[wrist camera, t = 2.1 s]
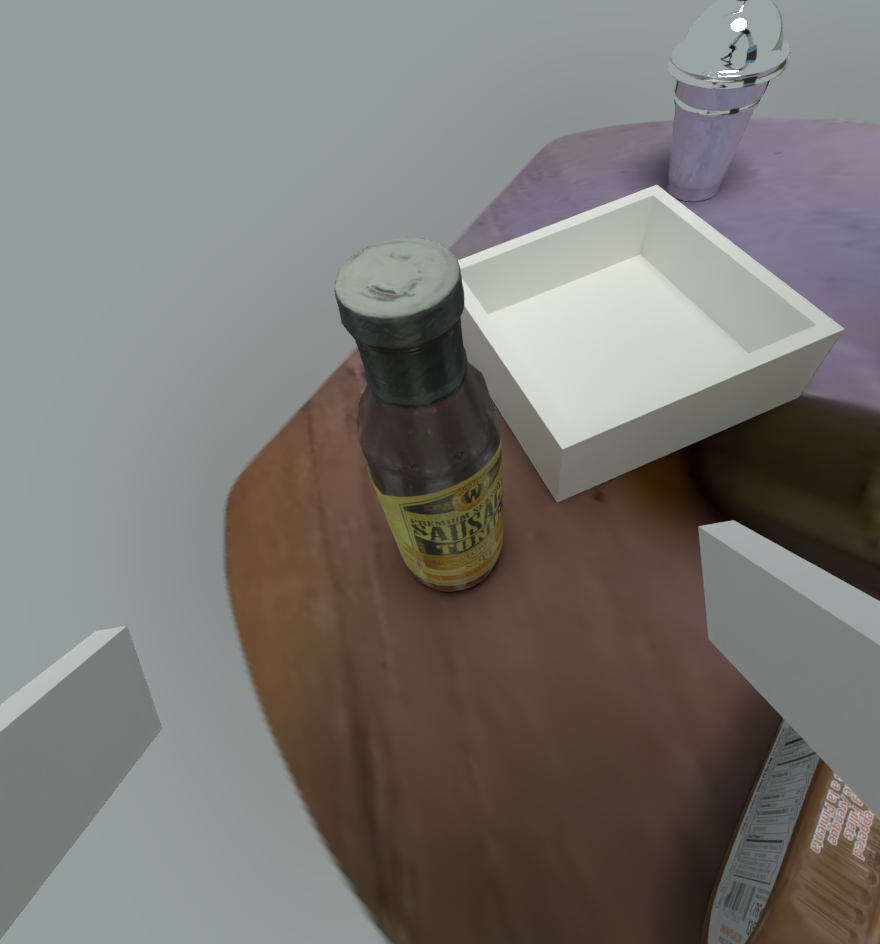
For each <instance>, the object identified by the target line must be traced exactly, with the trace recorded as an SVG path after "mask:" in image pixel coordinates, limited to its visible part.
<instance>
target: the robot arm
mask: <svg viewBox="0 0 880 944" xmlns="http://www.w3.org/2000/svg"><path fill="white" fill-rule="evenodd" d="M698 528H699V539H700V550H701V562H702V573H703V584H704V595H705V606H706V617H707V628H708V639H709V640H710V641H711V642H712V643H713V644H714V645H715V646H716V648H717V649H718V650H719V651H720V652H721V653H722V654H723V655H724V656H725V657H726V658H727V659H728V660H729V661H730V662H731V663H732V664H733V666H734V667H735V668H736V669H737V670H738V671H739V672H740V673H741V674H742V675H743V676H744V677H745V678H746V679H747V680H748V681H749V682H750V683H751V685H752V686H753V687H754V688H755V689H756V690H757V691H758V692H759V693H760V694H761V695H762V696H763V697H764V698H765V699H766V700H767V701H768V703H769V704H770V705H771V706H772V707H773V708H774V709H775V710H776V711H777V712H778V713H779V714H780V715H781V716H782V717H783V718H784V719H785V720H786V722H787V723H788V724H789V725H790V726H791V727H792V728H793V729H794V730H795V731H796V732H797V733H798V734H799V735H800V736H801V737H802V738H803V740H804V741H805V742H806V743H807V744H808V745H809V746H810V747H811V748H812V749H813V750H814V751H815V752H816V753H817V754H818V755H819V756H820V758H821V759H822V760H823V761H824V762H825V763H826V764H827V765H828V766H829V767H830V768H831V769H832V770H833V771H834V772H835V773H836V774H837V775H838V777H839V778H840V779H841V780H842V781H843V782H844V783H845V784H846V785H847V786H848V787H849V788H850V789H851V790H852V791H853V792H854V793H855V795H856V796H857V797H858V798H859V799H860V800H861V801H862V802H863V803H864V804H865V805H866V806H867V807H868V808H869V809H870V810H871V811H872V812H873V814H874V815H875V816H876V817H877V818H878V819H879V820H880V601H878V600H877V599H875V598H873V597H871V596H869V595H867V594H866V593H864V592H862V591H860V590H858V589H857V588H855V587H853V586H851V585H849V584H848V583H846V582H844V581H842V580H840V579H839V578H837V577H835V576H833V575H831V574H830V573H828V572H826V571H824V570H822V569H821V568H819V567H817V566H815V565H813V564H812V563H810V562H808V561H806V560H804V559H803V558H801V557H799V556H797V555H795V554H793V553H792V552H790V551H788V550H786V549H784V548H783V547H781V546H779V545H777V544H775V543H774V542H772V541H770V540H768V539H766V538H765V537H763V536H761V535H759V534H757V533H756V532H754V531H752V530H750V529H748V528H747V527H745V526H743V525H741V524H739V523H738V522H736V521H734V520H732V521H727V522H721V523H715V524H709V525H704V526H698ZM161 729H162V726H161V723H160V720H159V718H158V715H157V711H156V709H155V706H154V703H153V700H152V697H151V694H150V691H149V688H148V685H147V682H146V679H145V677H144V673H143V671H142V668H141V665H140V662H139V659H138V656H137V653H136V650H135V647H134V644H133V641H132V638H131V635H130V632H129V630H128V627H127V626H123V627H117V628H111V629H105V630H100V631H95V632H94V633H93V634H92V635H90V636H89V637H88V638H86V639H85V640H84V641H82V642H81V643H80V644H79V645H77V646H76V647H75V648H73V649H72V650H71V651H70V652H68V653H67V654H66V655H64V656H63V657H62V658H60V659H59V660H58V661H57V662H55V663H54V664H53V665H51V666H50V667H49V668H48V669H46V670H45V671H44V672H43V673H41V674H40V675H39V676H37V677H36V678H35V679H34V680H32V681H31V682H30V683H28V684H27V685H26V686H24V687H23V688H22V689H21V690H19V691H18V692H17V693H15V694H14V695H13V696H12V697H10V698H9V699H8V700H6V701H5V702H4V703H2V704H1V705H0V939H1V938H2V936H3V935H4V934H5V933H6V931H7V930H8V929H9V927H10V926H11V925H12V923H13V922H14V921H15V920H16V918H17V917H18V916H19V914H20V913H21V912H22V910H23V909H24V908H25V906H26V905H27V904H28V903H29V901H30V900H31V899H32V897H33V896H34V895H35V894H36V892H37V891H38V890H39V888H40V887H41V886H42V884H43V883H44V882H45V880H46V879H47V878H48V877H49V875H50V874H51V873H52V871H53V870H54V869H55V868H56V866H57V865H58V864H59V862H60V861H61V860H62V858H63V857H64V856H65V854H66V853H67V852H68V851H69V849H70V848H71V847H72V845H73V844H74V843H75V841H76V840H77V839H78V838H79V836H80V835H81V834H82V832H83V831H84V830H85V828H86V827H87V826H88V825H89V823H90V822H91V821H92V819H93V818H94V817H95V815H96V814H97V813H98V811H99V810H100V809H101V808H102V806H103V805H104V804H105V802H106V801H107V800H108V798H109V797H110V796H111V795H112V793H113V792H114V791H115V789H116V788H117V787H118V785H119V784H120V783H121V782H122V780H123V779H124V778H125V776H126V775H127V774H128V772H129V771H130V770H131V768H132V767H133V766H134V765H135V763H136V762H137V761H138V759H139V758H140V757H141V755H142V754H143V753H144V752H145V750H146V749H147V748H148V746H149V745H150V744H151V742H152V741H153V740H154V739H155V737H156V736H157V735H158V733H159V732H160V731H161Z"/></svg>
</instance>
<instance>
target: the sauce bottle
mask: <svg viewBox="0 0 880 944" xmlns="http://www.w3.org/2000/svg"><path fill="white" fill-rule="evenodd" d="M335 295H336V300H337V303H338V307H339V311H340V316H341V321H342V324H343V325H344V327H345V328H346V329H347V331H348V332H349V333H350V334H351V335H352V336H353V337H354V339H355V340H356V343H357V346H358V350H359V352H360V356H361V359H362V361H363V365H364V368H365V372H364V374H365V379H366V382H367V384H368V385H367V386H366V389H365V391H364V393H363V394H362V396H361V398H360V402H359V411H358V416H357V423H358V432H359V442H360V446H361V448H362V451H363V453H364V456H365V458H366V460H367V468H368V472H369V475H370V478H371V480H372V483H373V485H374V488H375V490H376V493H377V495H378V498H379V500H380V503H381V506H382V509H383V511H384V514H385V516H386V519H387V521H388V524H389V526H390V529H391V531H392V533H393V536H394V538H395V540H396V543H397V546H398V548H399V551H400V553H401V556H402V558H403V560H404V561H405V563H406V565H407V566H408V568H409V569H410V571H411V572H412V574H413V576H415V577H416V578H417V579H418V580H419V581H420V582H421V583H423V584H425V585H426V586H428V587H430V588H433V589H436V590H439V591H444V592H450V591H458V590H464V589H467V588H471V587H473V586H475V585H476V584H478V583H480V582H482V581H483V580H484V579H485V578H486V577H487V575H488V574H489V573H490V571H491V570H492V568H494V566H495V564H496V561H497V559H498V558H499V556H500V553H501V548H502V544H503V504H502V470H501V434H500V430H499V426H498V423H497V419H496V416H495V412H494V409H493V405H492V402H491V398H490V395H489V391H488V388H487V384H486V381H485V379H484V377H483V374H482V372H480V371H478V369H477V368H475V367H474V366H473V365H471V364H470V363H469V362H468V361H467V354H466V350H465V348H464V346H463V338H462V329H461V314H462V313H463V309H464V306H465V304H464V300H465V298H464V289H463V284H462V276H461V270H460V265H459V263H458V260H457V258H456V257H455V256H454V255H453V253H452V252H451V251H450V250H449V249H448V248H446V247H444V246H443V245H441V244H439V243H437V242H434V241H430V240H426V239H423V238H421V239H420V238H416V239H415V238H397V239H391V240H387V241H383V242H379V243H376V244H373V245H371V246H369V247H367V248H365V249H363V250H362V251H360V252H359V253H357V254H355V255H353V256H352V257H351V258H349V259H348V260H347V261H346V262H345V264H344V265H343V266H342V267H341V268H340V270H339V272H338V277H337V279H336V281H335Z"/></svg>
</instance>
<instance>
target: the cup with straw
mask: <svg viewBox="0 0 880 944" xmlns="http://www.w3.org/2000/svg"><path fill="white" fill-rule="evenodd" d="M789 53H790V49H789V45H788V43H787V42H786V41H785V40H784V38H783V22H782V16H781V14H780V11H779V9H778V7H777V6H776V5H775V3H774V2H773V1H772V0H717V1H716V2H715V3H713V4H712V5H710V6H709V7H708V8H706V9H705V10H704V11H703V12H702V13H701V14H700V16H699V17H698V18H697V20H696V21H695V23H694V24H693V25H692V27H691V29H690V30H689V32H688V34H687V36H686V37H685V39H684V40H683V41H682V42H680V43H679V44H678V45H677V46H676V47H675V49H674V50H673V51H672V55H671V58H670V60H669V62H668V70H669V73H670V74H671V75H672V77H674V78H675V79H676V80H675V88H674V91H675V99H674V103H675V115H674V124H673V133H672V142H671V151H670V160H669V169H668V178H669V182H668V184H667V191H668V193H669V194H670V195H671V196H673V197H674V198H677V199H679V200H683V201H693V202H694V201H702V200H706V199H709V198H711V197H713V196H714V195H716V194H717V192H718V191H719V184H720V183H721V182H722V180H723V179H724V177H725V175H726V172H727V170H728V168H729V166H730V163H731V161H732V159H733V157H734V154H735V152H736V150H737V147H738V145H739V143H740V141H741V138H742V136H743V134H744V131H745V129H746V127H747V125H748V122H749V120H750V118H751V115H752V113H753V111H754V109H755V108H756V106H757V105H758V104H759V101H760V99H761V97H762V95H763V94H764V93H765V91H766V89H767V87H768V84H769V82H770V80H772V79H774V78H776V77H777V76H779V75H780V74H781V73H782V72H783V71H784V70H785V69H786V67H787V65H788V56H789Z"/></svg>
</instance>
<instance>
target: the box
mask: <svg viewBox="0 0 880 944" xmlns="http://www.w3.org/2000/svg"><path fill="white" fill-rule="evenodd" d="M458 263H459V265H460V270H461V276H462V284H463V289H464V298H465V300H464V304H465V306H464V309H463V313H462V314H461V329H462V338H463V346H464V348H465V350H466V354H467V360H468V362H469V363H470V364H471V365H473V366H474V367H475V368H477V369H478V371H480V372H482V374H483V377H484V379H485V381H486V384H487V388H488V391H489V395H490V397H491V398H492V400H493V402H494V403H495V405H496V406H497V408H498V410H499V411H500V413H501V414H502V416H503V418H504V419H505V421H506V422H507V424H508V426H509V427H510V429H511V430H512V432H513V434H514V435H515V437H516V438H517V440H518V442H519V443H520V445H521V446H522V448H523V449H524V451H525V453H526V454H527V456H528V457H529V459H530V461H531V462H532V464H533V465H534V467H535V469H536V470H537V472H538V473H539V475H540V477H541V478H542V480H543V481H544V483H545V485H546V486H547V488H548V489H549V491H550V493H551V494H552V496H553V497H554V499H555V501H556V502H557V503H558V502H560V501H562V500H565V499H567V498H569V497H572V496H574V495H576V494H578V493H581V492H583V491H585V490H588V489H590V488H592V487H594V486H597V485H599V484H601V483H604V482H606V481H608V480H610V479H613V478H615V477H617V476H620V475H622V474H624V473H626V472H629V471H631V470H633V469H636V468H638V467H640V466H643V465H645V464H647V463H649V462H652V461H654V460H656V459H659V458H661V457H663V456H665V455H668V454H670V453H672V452H675V451H677V450H679V449H681V448H684V447H686V446H688V445H691V444H693V443H695V442H698V441H700V440H702V439H704V438H707V437H709V436H711V435H714V434H716V433H718V432H720V431H723V430H725V429H727V428H730V427H732V426H734V425H736V424H739V423H741V422H743V421H746V420H748V419H750V418H752V417H755V416H757V415H759V414H762V413H764V412H766V411H769V410H771V409H773V408H775V407H778V406H780V405H782V404H785V403H787V402H789V401H791V400H794V399H796V398H798V397H799V396H800V395H801V393H802V392H803V390H804V389H805V387H806V386H807V384H808V383H809V381H810V380H811V378H812V377H813V375H814V374H815V372H816V371H817V370H818V368H819V367H820V365H821V364H822V362H823V361H824V359H825V358H826V356H827V355H828V353H829V352H830V350H831V349H832V347H833V346H834V344H835V343H836V341H837V340H838V338H839V337H840V335H841V334H842V332H843V331H844V328H843V327H841V326H840V325H839V324H837V323H836V322H835V321H834V320H832V319H831V318H830V317H828V316H827V315H826V314H824V313H823V312H822V311H821V310H819V309H818V308H817V307H815V306H814V305H813V304H811V303H810V302H809V301H808V300H806V299H805V298H804V297H802V296H801V295H800V294H798V293H797V292H796V291H795V290H793V289H792V288H791V287H789V286H788V285H787V284H785V283H784V282H783V281H781V280H780V279H779V278H778V277H776V276H775V275H774V274H772V273H771V272H770V271H768V270H767V269H766V268H765V267H763V266H762V265H761V264H759V263H758V262H757V261H755V260H754V259H753V258H752V257H750V256H749V255H748V254H746V253H745V252H744V251H742V250H741V249H740V248H739V247H737V246H736V245H735V244H733V243H732V242H731V241H729V240H728V239H727V238H726V237H724V236H723V235H722V234H720V233H719V232H718V231H716V230H715V229H714V228H713V227H711V226H710V225H709V224H707V223H706V222H705V221H703V220H702V219H701V218H700V217H698V216H697V215H696V214H694V213H693V212H692V211H690V210H689V209H688V208H687V207H685V206H684V205H683V204H681V203H680V202H679V201H677V200H676V199H675V198H674V197H672V196H671V195H670V194H668V193H667V192H666V191H664V190H663V189H662V188H660V187H659V186H658V185H655V186H652V187H649V188H647V189H644V190H642V191H639V192H636V193H634V194H631V195H628V196H626V197H623V198H621V199H618V200H615V201H613V202H610V203H608V204H605V205H602V206H600V207H597V208H594V209H592V210H589V211H587V212H584V213H581V214H579V215H576V216H573V217H571V218H568V219H566V220H563V221H560V222H558V223H555V224H552V225H550V226H547V227H545V228H542V229H539V230H537V231H534V232H531V233H529V234H526V235H524V236H521V237H518V238H516V239H513V240H510V241H508V242H505V243H503V244H500V245H497V246H495V247H492V248H489V249H487V250H484V251H482V252H479V253H476V254H474V255H471V256H468V257H466V258H463V259H461V260H458Z"/></svg>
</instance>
